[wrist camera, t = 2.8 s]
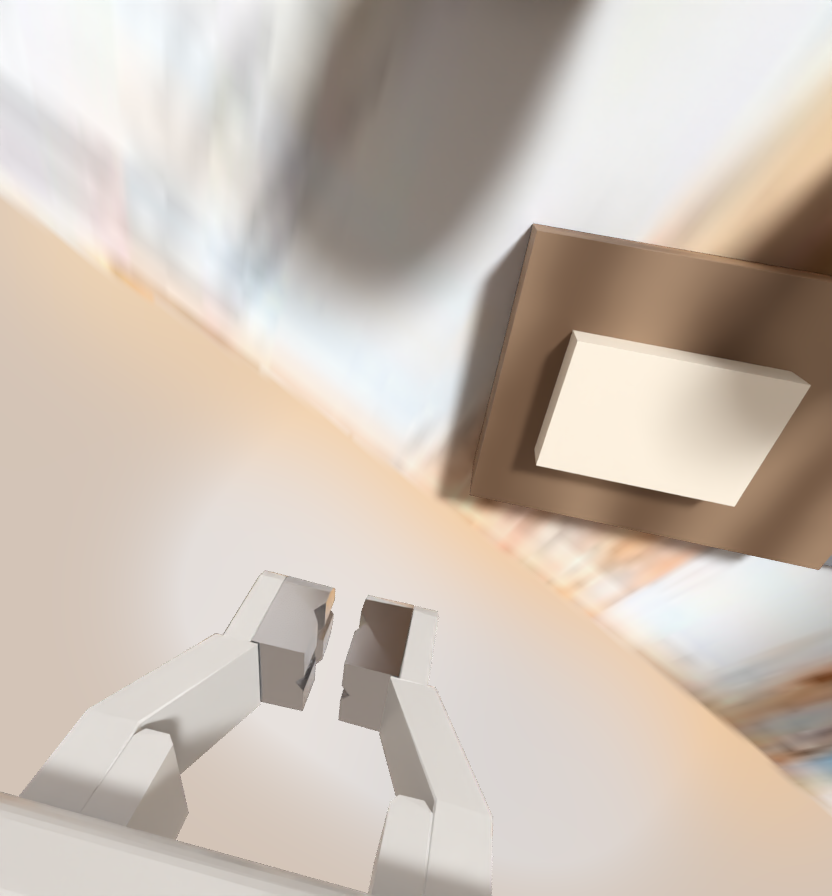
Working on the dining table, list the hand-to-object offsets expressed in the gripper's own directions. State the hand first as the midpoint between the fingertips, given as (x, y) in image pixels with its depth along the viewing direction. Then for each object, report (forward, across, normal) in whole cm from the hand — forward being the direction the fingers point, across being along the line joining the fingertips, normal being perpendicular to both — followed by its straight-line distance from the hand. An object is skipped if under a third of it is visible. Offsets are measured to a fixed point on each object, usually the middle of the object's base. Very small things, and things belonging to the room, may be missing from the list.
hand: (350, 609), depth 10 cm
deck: (+17, -12, 0) cm, 21 cm away
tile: (+14, -10, 0) cm, 17 cm away
